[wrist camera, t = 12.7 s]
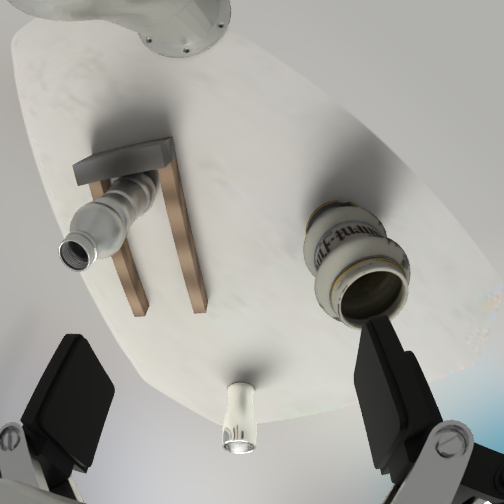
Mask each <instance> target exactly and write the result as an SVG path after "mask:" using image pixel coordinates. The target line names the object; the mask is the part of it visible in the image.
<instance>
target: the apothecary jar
mask: <svg viewBox="0 0 504 504" xmlns="http://www.w3.org/2000/svg"><path fill="white" fill-rule="evenodd" d="M303 253H304V259H305V263H306V265H307V267H308V269H309V271H310V272H311V273H312V275H313V276H314V277H315V294H316V298H317V301H318V303H319V305H320V306H321V308H322V309H323V310H324V311H325V312H326V313H327V314H328V315H329V316H330V317H332V318H334V319H336V320H338V321H341V322H343V323H344V324H345V325H346V326H348V327H350V328H352V329H356V330H362V324H363V323H364V322H367V321H368V318H369V317H373V316H380V315H387V316H388V318H389V320H390V321H391V320H393V319H394V318H395V317H396V316H397V315H398V314H399V313H400V311H401V310H402V309H403V307H404V305H405V303H406V301H407V297H408V285H409V281H410V264H409V260H408V258H407V256H406V254H405V252H404V250H403V249H402V248H401V247H400V246H399V245H398V244H397V243H396V242H394V241H393V240H391V239H389V238H387V235H386V231H385V229H384V227H383V225H382V223H381V222H380V220H379V219H378V218H377V217H376V216H375V215H373V214H372V213H371V212H369V211H367V210H365V209H362V208H359V207H358V206H357V205H355V204H353V203H351V202H348V203H339V202H338V201H332V202H329V203H326V204H324V205H322V206H321V207H319V208H318V209H317V210H316V211H315V212H314V213H313V214H312V216H311V217H310V219H309V221H308V224H307V228H306V238H305V241H304V247H303Z"/></svg>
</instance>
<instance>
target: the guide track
mask: <svg viewBox="0 0 504 504" xmlns="http://www.w3.org/2000/svg"><path fill="white" fill-rule="evenodd" d="M72 166H73V170H74V173H75V177H76V181H77V184H78V186H80V185H84V184H88V183H89V186H90V190H91V194H92V197H93V201H94V200H96V199H98V198H99V197H101V196H102V195H103V194H105V193H106V192H107V191H108V190H109V188H110V187H111V183H110V178H115V177H119V176H124V175H129V174H134V173H139V172H144V171H149V170H155V169H158V174H159V178H160V183H161V187H162V192H163V196H164V201H165V205H166V209H167V214H168V218H169V222H170V226H171V230H172V234H173V238H174V242H175V246H176V250H177V254H178V257H179V261H180V265H181V269H182V272H183V276H184V280H185V283H186V287H187V290H188V294H189V297H190V301H191V304H192V308H193V311H194V314H196V313H206V309H207V304H208V300H207V296H206V292H205V288H204V284H203V280H202V276H201V271H200V267H199V263H198V259H197V254H196V250H195V246H194V241H193V237H192V232H191V228H190V223H189V219H188V214H187V210H186V205H185V200H184V195H183V190H182V185H181V181H180V176H179V170H178V165H177V160H176V155H175V150H174V144H173V139H172V137H167V138H162V139H157V140H152V141H147V142H143V143H138V144H134V145H130V146H125V147H121V148H117V149H113V150H109V151H105V152H101V153H97V154H94V155H91V156H89V157H87V158H85V159H83V160H81V161H79V162H78V163H76V164H74V165H72ZM111 257H112V259H113V262H114V265H115V268H116V270H117V273H118V276H119V279H120V281H121V284H122V286H123V289H124V292H125V294H126V297H127V299H128V302H129V304H130V306H131V309H132V311H133V314H134V316H135V317H141V316H145V315H146V312H147V310H148V307H149V304H148V301H147V298H146V296H145V293H144V290H143V287H142V285H141V282H140V279H139V276H138V273H137V270H136V267H135V264H134V261H133V258H132V255H131V252H130V249H129V246H128V243H127V240H126V237H125V239H124V242H123V244H122V246H121V247H120V249H119V250H118V251H117V252H116V253H115V254H113V255H111Z"/></svg>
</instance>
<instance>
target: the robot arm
mask: <svg viewBox="0 0 504 504" xmlns="http://www.w3.org/2000/svg"><path fill="white" fill-rule="evenodd" d="M7 1H8V2H9V3H10V4H12V5H13V6H14V7H16V8H17V9H19V10H21V11H22V12H24V13H26V14H29V15H32V16H34V17H38V18H42V19H47V20H55V21H85V20H105V21H109V22H112V23H115V24H117V25H119V26H122V27H125V28H127V29H130V30H132V31H135V32H137V33H138V35H139V37H140V39H141V40H142V42H143V43H144V44H145V45H146V46H147V47H148V48H149V49H151V50H152V51H154V52H156V53H158V54H160V55H163V56H167V57H173V58H183V57H189V56H193V55H196V54H199V53H201V52H203V51H205V50H207V49H209V48H210V47H211V46H213V45H214V44H215V43H216V42H217V41H218V40H219V39H220V38H221V37H222V36H223V34H224V33H225V31H226V30H227V27H228V25H229V22H230V17H231V6H230V2H229V0H7ZM220 25H223V27H222V28H220V27H219V26H220ZM151 39H152V42H151V43H150V42H149V41H150V40H151ZM186 50H189V52H188V53H186ZM354 385H355V389H356V393H357V396H358V400H359V404H360V408H361V412H362V416H363V420H364V424H365V428H366V432H367V437H368V441H369V445H370V449H371V454H372V458H373V463H374V466H375V468H376V469H380V470H381V474H382V475H384V474H389V473H390V476H391V481H392V483H394V485H393V487H392V488H391V490H390V491H389V493H388V495H387V496H386V498H385V499H384V501H383V503H382V504H504V454H502V453H499V452H496V451H494V450H491V449H489V448H486V447H484V446H482V445H479V444H477V443H474V438H473V434H472V432H471V430H470V429H469V428H468V427H467V426H466V425H465V424H463V423H461V422H459V421H454V420H450V421H444V422H443V419H442V417H441V414H440V412H439V409H438V407H437V405H436V402H435V400H434V397H433V395H432V393H431V390H430V388H429V386H428V383H427V381H426V379H425V376H424V374H423V372H422V370H421V367H420V365H419V363H418V361H417V359H416V357H415V355H414V353H413V352H412V351H405V352H404V350H403V348H402V346H401V343H400V341H399V339H398V337H397V335H396V333H395V330H394V328H393V326H392V324H391V322H390V320H389V318H388V316H387V315H380V316H373V317H369V318H368V321H367V322H364V323H363V324H362V330H361V337H360V343H359V349H358V355H357V361H356V366H355V371H354ZM114 393H115V388H114V385H113V383H112V382H111V380H110V378H109V377H108V375H107V374H106V372H105V370H104V369H103V367H102V365H101V364H100V362H99V360H98V358H97V357H96V355H95V353H94V351H93V350H92V348H91V346H90V344H89V343H88V341H87V340H86V339H85V338H84V337H83V336H82V335H81V334H66V335H65V336H64V338H63V339H62V341H61V343H60V344H59V346H58V348H57V350H56V351H55V354H54V355H53V357H52V359H51V360H50V362H49V364H48V366H47V368H46V370H45V372H44V374H43V375H42V377H41V379H40V381H39V383H38V385H37V387H36V389H35V391H34V393H33V395H32V397H31V399H30V401H29V403H28V405H27V407H26V409H25V411H24V413H23V415H22V418H21V422H22V423H23V426H22V427H21V426H20V425H19V424H18V423H13V422H11V423H8V424H5V425H4V426H3V427H2V428H1V429H0V504H85V503H84V501H83V499H82V497H81V494H80V492H79V490H78V488H77V486H76V484H75V481H74V479H73V476H72V474H71V473H72V470H73V469H74V470H75V471H79V472H82V473H87V470H88V467H90V466H91V465H92V462H93V459H94V455H95V452H96V449H97V445H98V442H99V439H100V436H101V432H102V429H103V426H104V423H105V420H106V417H107V414H108V411H109V408H110V405H111V402H112V399H113V396H114Z"/></svg>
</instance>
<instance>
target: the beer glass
mask: <svg viewBox="0 0 504 504" xmlns="http://www.w3.org/2000/svg"><path fill="white" fill-rule="evenodd" d="M227 392H228V407H227V411H226V414H225V418H224V422H223V431H222V441H223V445H222V446H223V448H224V450H226V451H228V452H232V453H239V454H240V453H241V454H242V453H249V452H252V451H254V450H255V448H256V438H257V424H256V418H255V413H254V409H253V397H254V392H255V390H254V388H253V386H251V385H250V384H247V383H242V382H238V383H234V384H231V385H230V386H229V387H228V389H227Z"/></svg>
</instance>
